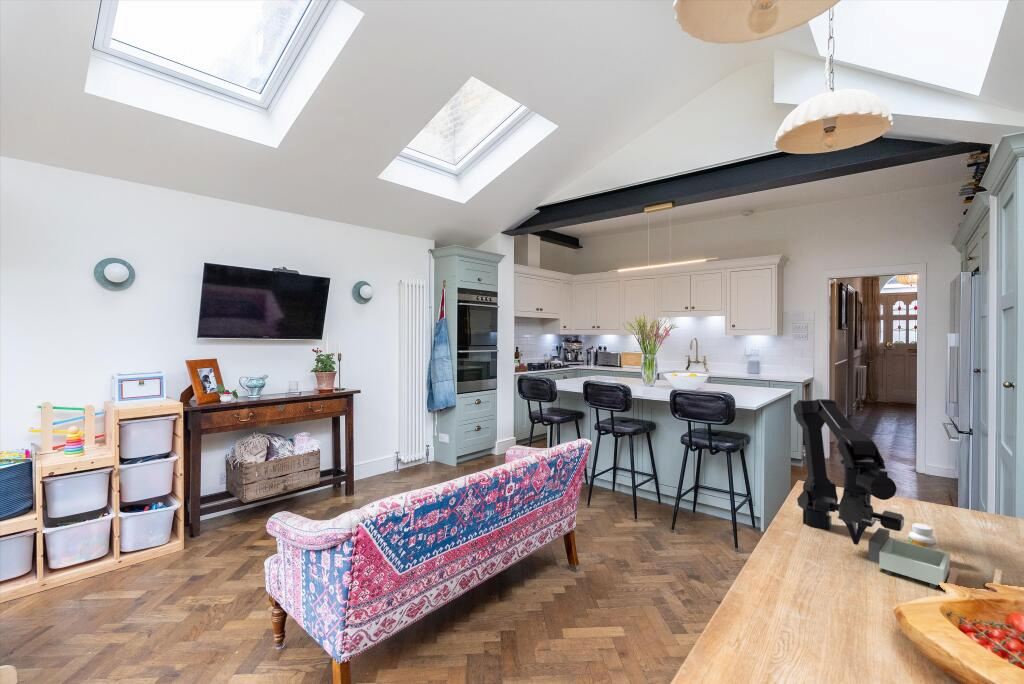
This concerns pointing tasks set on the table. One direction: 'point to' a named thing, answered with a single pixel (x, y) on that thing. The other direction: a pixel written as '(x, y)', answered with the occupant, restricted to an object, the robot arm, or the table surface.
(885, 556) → the pale green bin
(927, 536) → the supplement bottle
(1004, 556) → the table surface
